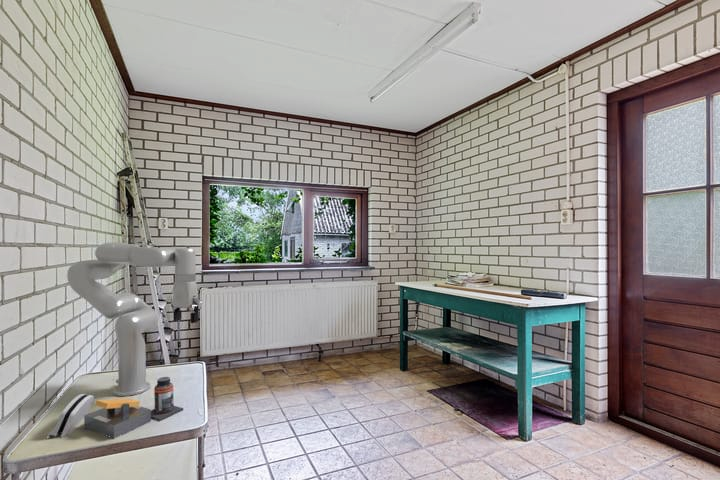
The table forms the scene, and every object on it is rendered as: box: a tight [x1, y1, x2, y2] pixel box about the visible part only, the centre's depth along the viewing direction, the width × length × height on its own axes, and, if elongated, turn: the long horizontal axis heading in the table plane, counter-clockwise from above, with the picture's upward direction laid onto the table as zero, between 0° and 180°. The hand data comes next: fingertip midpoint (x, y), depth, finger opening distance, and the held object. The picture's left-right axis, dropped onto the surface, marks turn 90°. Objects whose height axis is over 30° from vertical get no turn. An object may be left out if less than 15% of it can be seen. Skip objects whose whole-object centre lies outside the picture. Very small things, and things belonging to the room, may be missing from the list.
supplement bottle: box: [153, 376, 175, 414], centre depth 132 cm, size 6×6×11 cm
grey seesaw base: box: [83, 403, 152, 439], centre depth 123 cm, size 16×12×7 cm
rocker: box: [94, 398, 141, 409], centre depth 123 cm, size 6×11×2 cm, turn 154°
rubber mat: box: [151, 405, 184, 422], centre depth 131 cm, size 9×9×1 cm
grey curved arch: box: [46, 393, 95, 438], centre depth 123 cm, size 17×5×10 cm, turn 15°
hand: (185, 321), depth 149 cm, fingers open, 9 cm apart
